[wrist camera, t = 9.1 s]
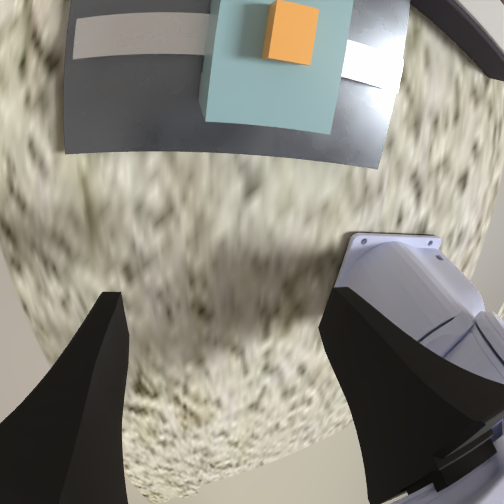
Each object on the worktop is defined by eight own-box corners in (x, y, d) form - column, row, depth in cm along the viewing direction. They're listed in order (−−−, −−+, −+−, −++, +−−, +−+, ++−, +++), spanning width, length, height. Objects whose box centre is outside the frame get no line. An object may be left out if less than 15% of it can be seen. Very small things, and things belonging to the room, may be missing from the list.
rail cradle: (401, -6, 12) (427, -9, 10) (369, 164, 19) (390, 178, 17) (88, -52, 8) (75, -66, 6) (71, 149, 15) (55, 163, 13)
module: (295, -1, 11) (369, -33, 6) (278, 107, 15) (340, 140, 9) (213, -14, 10) (235, -69, 5) (198, 99, 14) (207, 126, 8)
